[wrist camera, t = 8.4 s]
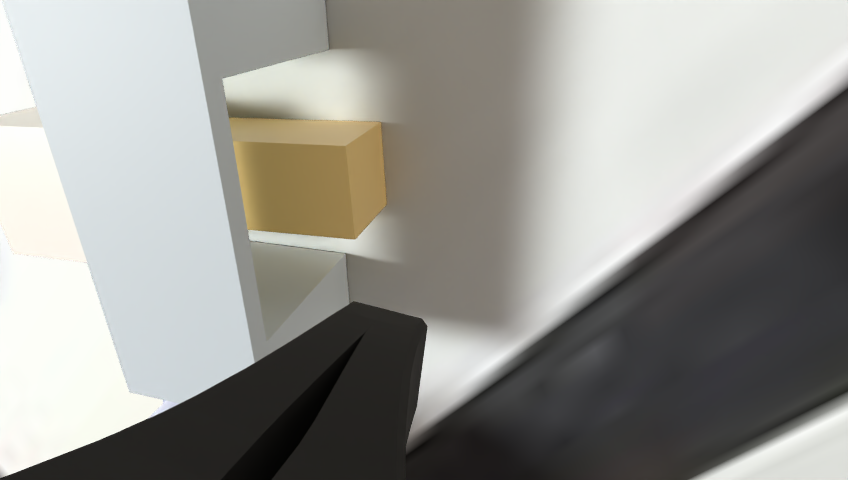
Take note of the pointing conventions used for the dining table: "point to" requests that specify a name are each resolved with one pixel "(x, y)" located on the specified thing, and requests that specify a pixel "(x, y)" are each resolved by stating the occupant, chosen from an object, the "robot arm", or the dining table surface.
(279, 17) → the housing
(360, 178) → the plug
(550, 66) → the dining table surface
